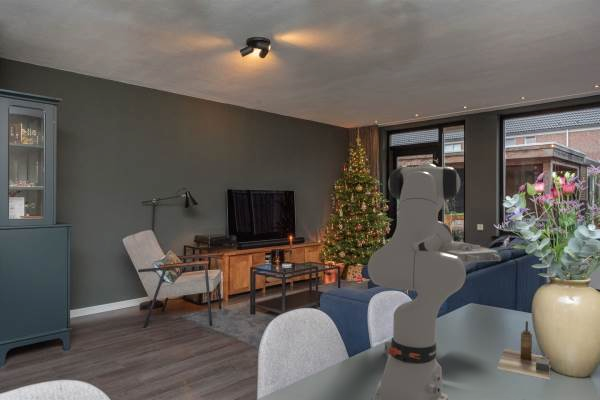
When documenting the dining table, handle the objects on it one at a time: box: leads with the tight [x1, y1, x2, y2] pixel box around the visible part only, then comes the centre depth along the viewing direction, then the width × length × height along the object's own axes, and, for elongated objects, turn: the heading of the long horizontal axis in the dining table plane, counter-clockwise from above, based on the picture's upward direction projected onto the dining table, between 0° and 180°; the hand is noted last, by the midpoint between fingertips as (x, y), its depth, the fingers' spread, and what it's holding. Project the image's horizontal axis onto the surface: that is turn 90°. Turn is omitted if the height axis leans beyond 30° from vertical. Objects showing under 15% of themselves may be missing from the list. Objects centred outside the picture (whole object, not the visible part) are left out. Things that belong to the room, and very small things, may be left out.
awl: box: [520, 320, 533, 359], centre depth 140 cm, size 3×3×12 cm
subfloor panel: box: [496, 348, 551, 381], centre depth 135 cm, size 20×14×1 cm
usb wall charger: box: [384, 341, 391, 358], centre depth 143 cm, size 4×7×4 cm, turn 92°
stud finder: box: [536, 355, 550, 372], centre depth 132 cm, size 6×4×2 cm, turn 149°
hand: (489, 259), depth 149 cm, fingers open, 8 cm apart
